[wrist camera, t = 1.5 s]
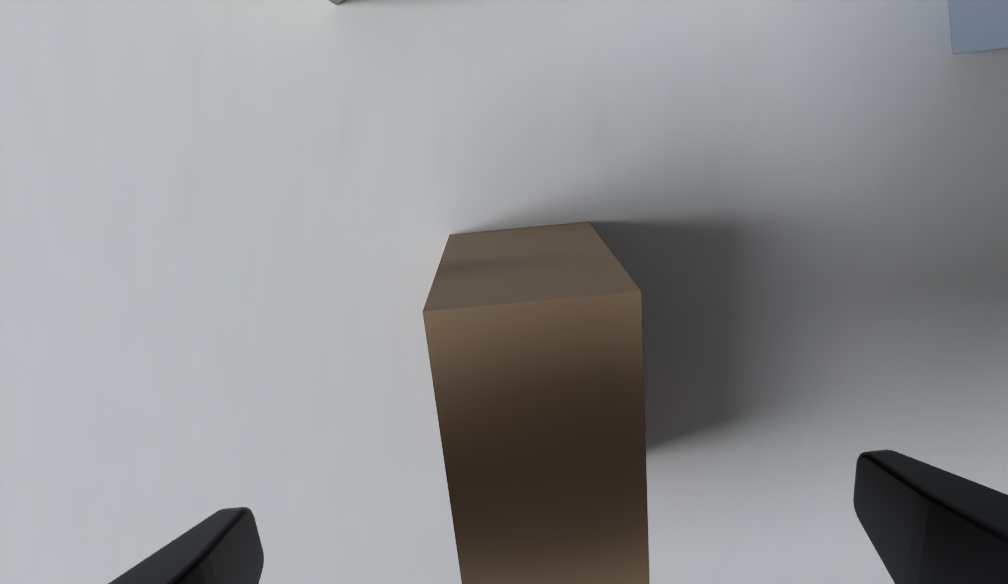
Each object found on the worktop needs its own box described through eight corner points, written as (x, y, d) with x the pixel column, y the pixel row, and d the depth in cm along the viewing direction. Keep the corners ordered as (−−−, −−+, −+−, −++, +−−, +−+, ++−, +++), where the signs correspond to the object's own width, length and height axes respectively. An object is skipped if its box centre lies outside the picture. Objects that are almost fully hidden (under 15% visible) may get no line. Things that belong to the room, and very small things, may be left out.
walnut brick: (601, 461, 15) (650, 632, 10) (479, 472, 15) (471, 648, 10) (588, 220, 13) (641, 291, 8) (449, 234, 13) (422, 311, 8)
